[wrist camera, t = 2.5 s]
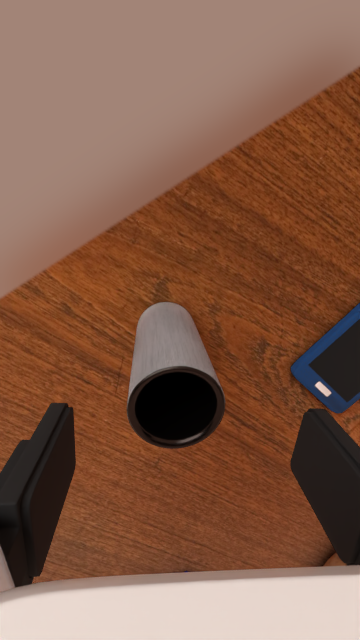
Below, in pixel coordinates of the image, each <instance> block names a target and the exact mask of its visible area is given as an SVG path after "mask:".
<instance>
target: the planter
mask: <svg viewBox="0 0 360 640" xmlns="http://www.w3.org/2000/svg"><path fill="white" fill-rule="evenodd" d="M224 411H225V396H224V393H223V390H222V387H221V385H220V382H219V380H218V378H217V375H216V373H215V371H214V368H213V366H212V364H211V361H210V359H209V357H208V354H207V352H206V350H205V347H204V345H203V343H202V340H201V338H200V335H199V333H198V331H197V328H196V326H195V324H194V321H193V319H192V317H191V316H190V314H189V313H188V311H187V310H186V309H184V308H183V307H182V306H180V305H178V304H175V303H171V302H161V303H157V304H154V305H152V306H151V307H149V308H148V309H146V310H145V311H144V313H143V314H142V315H141V317H140V319H139V322H138V325H137V332H136V340H135V347H134V355H133V362H132V370H131V378H130V385H129V393H128V401H127V416H128V420H129V423H130V425H131V427H132V428H133V430H134V431H135V432H136V434H137V435H138V436H139V437H141V438H142V439H143V440H145V441H146V442H148V443H150V444H152V445H155V446H158V447H162V448H170V449H175V448H184V447H188V446H191V445H194V444H197V443H199V442H201V441H202V440H204V439H205V438H207V437H208V436H209V435H211V434H212V433H213V432H214V431H215V429H216V428H217V427H218V425H219V424H220V422H221V420H222V418H223V415H224Z"/></svg>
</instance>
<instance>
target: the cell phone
mask: <svg viewBox="0 0 360 640" xmlns="http://www.w3.org/2000/svg"><path fill="white" fill-rule="evenodd" d="M291 372H292V374H293V376H294V377H295V378H296V379H297V380H298V381H299V382H300V383H301V384H302V385H304V386H305V387H306V388H307V389H308V390H309V391H310V392H311V393H312V394H313V395H314V396H316V397H317V398H318V399H319V400H320V401H321V402H322V403H323V404H324V405H325V406H326V407H328V408H329V409H330V410H331V411H333V412H335V413H342V412H344V411H345V410H346V409H348V408H349V407H350V406H351V405H353V404H354V403H355V402H356V401H357V400H359V399H360V303H359V304H358V305H357V306H356V307H355V308H354V309H352V310H351V311H350V312H349V313H348V314H347V315H346V316H345V317H344V318H343V319H342V320H340V321H339V322H338V323H337V324H336V325H335V326H334V327H333V328H332V329H331V330H329V331H328V332H327V333H326V334H325V335H324V336H323V337H322V338H321V339H320V340H318V341H317V342H316V343H315V344H314V345H313V346H312V347H311V348H310V349H309V350H307V351H306V352H305V353H304V354H303V355H302V356H301V357H300V358H299V359H298V360H297V361H296V362H295V363H294V364H293V365H292V366H291Z"/></svg>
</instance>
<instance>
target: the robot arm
mask: <svg viewBox="0 0 360 640" xmlns="http://www.w3.org/2000/svg"><path fill="white" fill-rule="evenodd" d="M75 464H76V459H75V438H74V416H73V408H72V407H68V404H67V403H51V404H50V406H49V408H48V409H47V411H46V413H45V415H44V416H43V418H42V420H41V421H40V423H39V425H38V427H37V428H36V430H35V432H34V434H33V435H32V437H31V439H30V440H22V441H20V443H19V444H18V445H17V447H16V449H15V450H14V452H13V453H12V455H11V457H10V458H9V460H8V461H7V463H6V465H5V466H4V468H3V470H2V471H1V473H0V640H360V447H359V446H358V445H357V444H356V443H355V442H354V441H353V440H352V438H351V437H350V436H349V435H348V434H347V433H346V432H345V431H344V430H343V428H342V427H341V426H340V425H339V424H338V423H337V422H336V421H335V420H334V418H333V417H332V416H331V415H330V414H329V413H328V412H327V411H326V410H325V409H309V410H308V411H307V412H305V413H304V415H303V419H302V422H301V426H300V430H299V433H298V437H297V440H296V444H295V448H294V451H293V455H292V458H291V470H292V472H293V474H294V476H295V478H296V479H297V481H298V483H299V485H300V487H301V489H302V490H303V492H304V494H305V496H306V498H307V499H308V501H309V503H310V505H311V507H312V509H313V510H314V512H315V514H316V516H317V518H318V520H319V521H320V523H321V525H322V527H323V529H324V531H325V532H326V534H327V536H328V538H329V540H330V542H331V543H332V545H333V547H334V549H335V551H336V553H337V554H338V556H339V558H340V559H341V561H342V562H343V563H346V564H347V566H324V567H296V568H271V569H247V570H224V571H202V572H181V573H161V574H141V575H120V576H106V577H91V578H77V579H64V580H56V581H48V582H40V583H34V584H32V581H33V578H34V577H37V576H40V574H41V572H42V569H43V566H44V563H45V560H46V557H47V554H48V551H49V548H50V545H51V542H52V539H53V535H54V532H55V529H56V526H57V523H58V520H59V517H60V514H61V511H62V508H63V505H64V502H65V499H66V495H67V492H68V489H69V486H70V483H71V480H72V477H73V474H74V470H75Z"/></svg>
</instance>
